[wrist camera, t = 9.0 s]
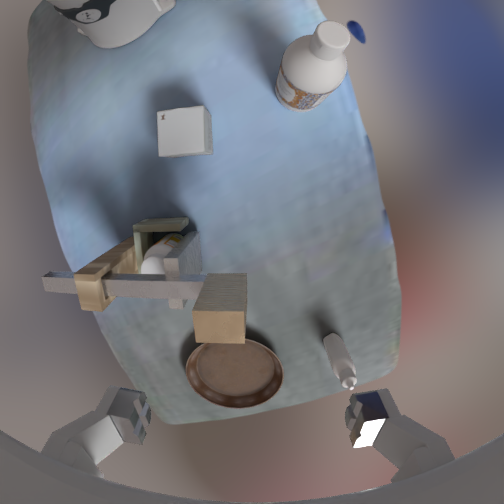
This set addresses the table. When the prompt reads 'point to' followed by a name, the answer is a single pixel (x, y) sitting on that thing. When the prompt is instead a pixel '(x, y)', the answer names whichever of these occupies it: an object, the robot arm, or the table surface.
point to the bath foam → (312, 67)
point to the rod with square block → (181, 291)
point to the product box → (184, 132)
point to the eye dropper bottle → (340, 360)
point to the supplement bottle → (159, 254)
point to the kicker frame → (120, 261)
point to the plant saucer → (235, 373)
